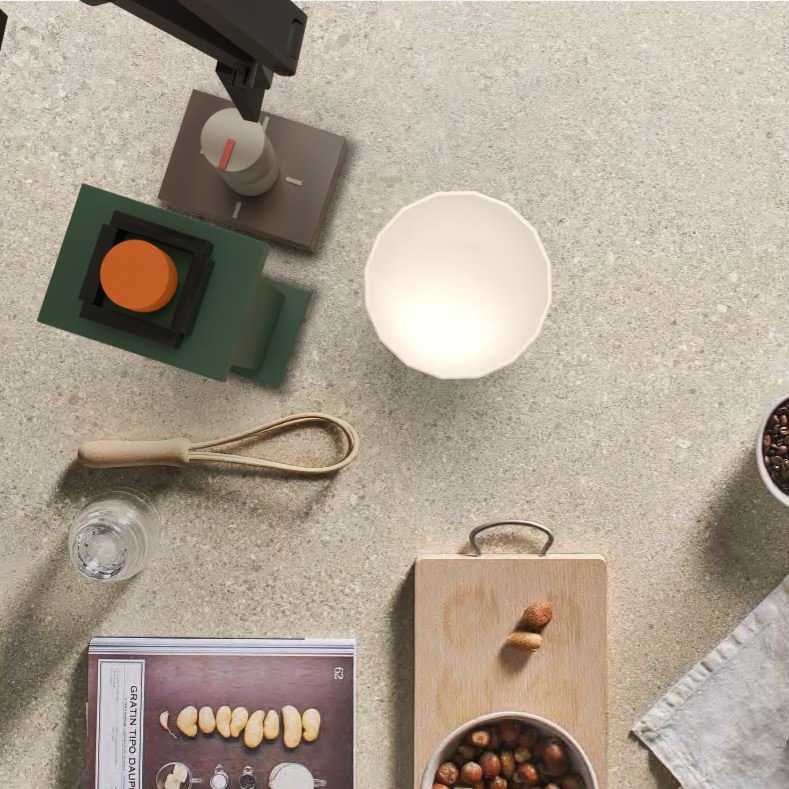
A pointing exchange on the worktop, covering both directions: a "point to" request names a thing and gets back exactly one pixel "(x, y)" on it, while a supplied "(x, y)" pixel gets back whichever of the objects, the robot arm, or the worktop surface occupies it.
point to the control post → (177, 293)
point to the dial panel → (282, 201)
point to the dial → (240, 152)
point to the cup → (457, 285)
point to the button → (138, 276)
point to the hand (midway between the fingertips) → (125, 68)
